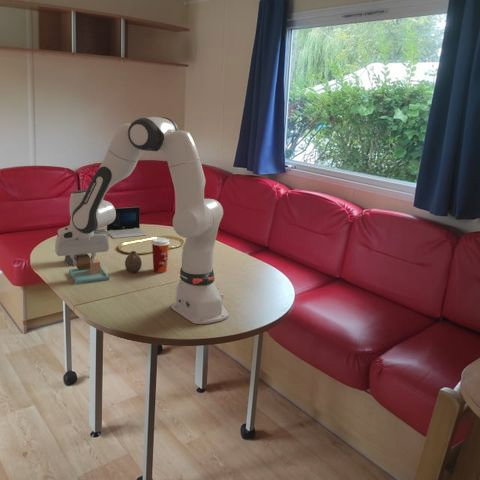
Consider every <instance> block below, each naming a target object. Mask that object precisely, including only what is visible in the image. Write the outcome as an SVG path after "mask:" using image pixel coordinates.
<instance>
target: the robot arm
mask: <svg viewBox="0 0 480 480" xmlns="http://www.w3.org/2000/svg"><path fill="white" fill-rule="evenodd" d="M142 151H146V152H158V151H161V152H162V153H163V154H164V155H165V158H166V161H167V166H168V168H169V172H170V173H169V174H170V177H171V180H172V183H173V190H174V198H175V199H174V202H175V210H174V212H175V213H174V215H173V218H172V227H173V230H174V231H175V233H176V234H177V235H178V236H179V237H180V238H185V241H184V243H183V246H182V248H181V249H182V250H181V251H182V253H181V267H180V270H179V278H180V281H179V282H178V283H177V285H176V288H175V296H174V297H175V298H174V303H172V304H171V306H170V307H171V309H172V310H173V311H175V312H176V313H178V314H179V315H181V316H182V317H183V318H185V319H186V320H188V321H189V322H191V323H193V324H195V325H196V324H197V325H198V324H199V325H203V324H205V325H206V324H212V323H217V322H221V321H224V320H226V319H227V318H229V313H228V311H227V310H226V308H225V306H224V305H223V300H224V293H222V292H221V293H220V292H219V286H217V285H216V282H215V272H214V268H213V261H214V248H215V244H216V240H217V235H218V232H219V226H220V223H221V222H222V219H223V216H224V208H223V206H222V204H221V202H219V201H218V200H216V199H213V198H205V186H206V176H205V173H204V169H203V166H202V162H201V158H200V154H199V151H198V149H197V145H196V143H195V140H194V139H193V137H192V135H191V133H190V132H189V131H186V130H182V129H181V130H180V129H179V126H178V125H177V123H176V122H175V121H174V120H172V119H171V118H168V117H165V116H164V117H158V116H149V117H140V118H137V119H135V120H134V121H133V122H131V123H122V124H121V125H120V126H119V127H118V128H117V130H116V131H115V133H114V135H113V137H112V140H111V141H110V143H109V146H108V148H107V151H106V153H105V156H104V159H103V160H102V162H101V163H100V165H99V167H98V168H97V171H96V172H95V173H94V175H93V177H92V179H91V181H90V182H89V185H88V188H87V189H79V190H74V191H73V192H71V194H70V197H69V205H68V206H69V215H70V221H69V225H67V226H64V227H61V228H59V229H57V233H58V234H57V236H58V235H59V236H58V237H56V239H55V245H54V248H55V249H54V251H55V254H56V255H57V256H58V257H65V256H67V255H70V257H71V258H72V260H73V265H78V261H77V259H76V260H75V259H74V258H73V257H75V255H77V254H91V255H90V263H93V259H95V257H96V254H97V253H106V252H108V251H109V250H110V245H109V243H110V242H109V237H110V235H109V232H108V231H107V229H105V228H104V227H107V225H109V224H111V223H112V222H114V220H115V218H116V210H115V206H114V205H113V203H112V202H110V200H109V201H108V200H104V199H105V196H106V194H107V193H108V191H109V190H110V189H111V188H112V187H113V186H115V185H116V184H117V183H119V182H121V181H123V180H124V179H126V178H128V177H129V176H131V174H132V173H133V171H134V170H135V168H136V167H137V164H138V162H139V159H140V157H141V154H142Z"/></svg>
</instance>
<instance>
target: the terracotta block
mask: <svg viewBox="0 0 480 480" xmlns="http://www.w3.org/2000/svg"><path fill="white" fill-rule="evenodd" d="M100 266H101V261H100V260H99V258H94V259H93V263H90V269H87V272H88V273H89V275H92V274H100Z"/></svg>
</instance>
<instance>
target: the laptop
mask: <svg viewBox="0 0 480 480" xmlns="http://www.w3.org/2000/svg"><path fill="white" fill-rule="evenodd" d="M140 209H141V208H140V206H133V207H131V206H130V207H116V208H115V210H116V218H115V220H114V222H112V223H111V224H109V225H106V230H107V231H108V232H109V237H111V238H113V239H121V238H123V239H124V238H134V237H144V236H148V235H147V233H145V231H143V230H142V229H141V228H140V227H141V226H140V225H141V224H140V223H141V221H140V219H141V218H140V216H141V213H140V212H141V211H140Z"/></svg>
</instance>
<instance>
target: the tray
mask: <svg viewBox="0 0 480 480" xmlns="http://www.w3.org/2000/svg"><path fill="white" fill-rule="evenodd" d="M68 272H69V275H70V274H71V275H70V277H71V276H72V277H71V278H73V279H72V281H74V284H75V283H76V284H75V285H80V284H79V283H82V284H89V282H90V283H95V282H96V283H97V282H103V281H109V280H110V276H109V275H108V273H107V272H106V270H105V269H104V268H103V266H102V265H100V274H92V275H89V273H88V272H87V269H86V270H78V268H77V267H76V268H70V269H68Z"/></svg>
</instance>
